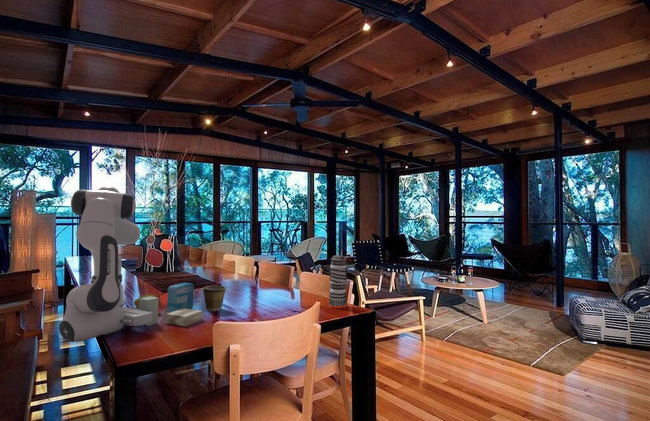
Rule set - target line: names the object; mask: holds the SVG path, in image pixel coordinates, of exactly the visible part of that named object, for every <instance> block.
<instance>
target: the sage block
mask: <svg viewBox="0 0 650 421" xmlns="http://www.w3.org/2000/svg"><path fill="white" fill-rule="evenodd" d="M158 303H159V304H160V299H159V297H157V296H156V297H151V296H149V297H144V298H140V299H139V309H137V310H141V311H147V312H148V311H150V310H154V311H155V314H154V315H153V316H152V321H151V322H150V323H147V324H143V325H142V326H144V327H149V326H152V325H155V324H158V323H159V307H158Z"/></svg>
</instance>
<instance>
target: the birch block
mask: <svg viewBox="0 0 650 421" xmlns="http://www.w3.org/2000/svg"><path fill="white" fill-rule="evenodd" d="M203 316H204V311H203V310H199V309H193V308H192V309H185V308H183V309H180V310H177V311H173V312H170V313H165V324H167V325H176V326H183V327H188V326H190V325H192V324H195V323H198V322H201V321H203V318H204V317H203Z"/></svg>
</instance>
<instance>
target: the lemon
mask: <svg viewBox="0 0 650 421" xmlns="http://www.w3.org/2000/svg"><path fill="white" fill-rule="evenodd" d="M149 296H151V297H157V296H155V295H153V294H144V295H141V296H139V297H138V298H137V299H135V300H134V301H133V304H134V306H135V307H136V308H137V310H138V309H139V299H140V298H144V297H149ZM158 308H160V302H159V303H158Z"/></svg>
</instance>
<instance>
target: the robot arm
mask: <svg viewBox="0 0 650 421" xmlns="http://www.w3.org/2000/svg"><path fill="white" fill-rule="evenodd" d="M136 205H137V204H136V200H135V197H134V196H133V195H132V194H130V193H125V192H120V191H119V190H118V189H117V188H116V187H114V186H109V185H107V186H102V187H100V188H98V189H96V190H94V189H92V190H90V189H89V190H88V189H87V188H86V189H78V190H76V191H75V192H74V193H73V194H72V197H71V199H70V207H71V212H72V213H74V214H75V215H76V216H79V217H81V219H80V222H79V225H78V227H77V229H76V233H75V234H76V235H75V236H76V239H77V240H78V242H79V243H80V245H81V246H82V247H83V248H84V249H86V250H89V252H90V254H91V256H92V259H93V275H92V276H90V277H89V280H90V283H88V284H83V285H79V286H75V287H73V288H72V289H71V290H69V292H68V293H67V295H66V298H65V311H64V316H63V318H62V319H61V321H59V326H58V331H59V334H60V335H61V337H62V338H63V340H65V341H66V342H69V343H79V342H84V341H89V340H91V339H95V338H97V337H98V336H104V335H105V336H106V335H109V334H111V333H115V332H118V331H121V329H122V328H123V327H124V325H125V326H132V327H139V326H144V325H143V324H147V323H150V322H151V321H152V316H153V315H154V314H155V311H154V310H150V311H148V312H147V311H141V310H138V309H137V308H136V306H135V307H134V306H133V307H123V305H125V302H126V299H125V298H124V286H123V284H122V282H123V274H122V266H123V265H122V261H123V260H122V257H121V256H120V255H119V246H127V245H135V244H136V243H137V242H138V241H139V240H140V237H141V230H140V227H139V226H138V224H136V223H134V222H131V221H130V220H128V219H130V218H131V217H133V214H134V213H135V211H136V208H137V206H136Z"/></svg>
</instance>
